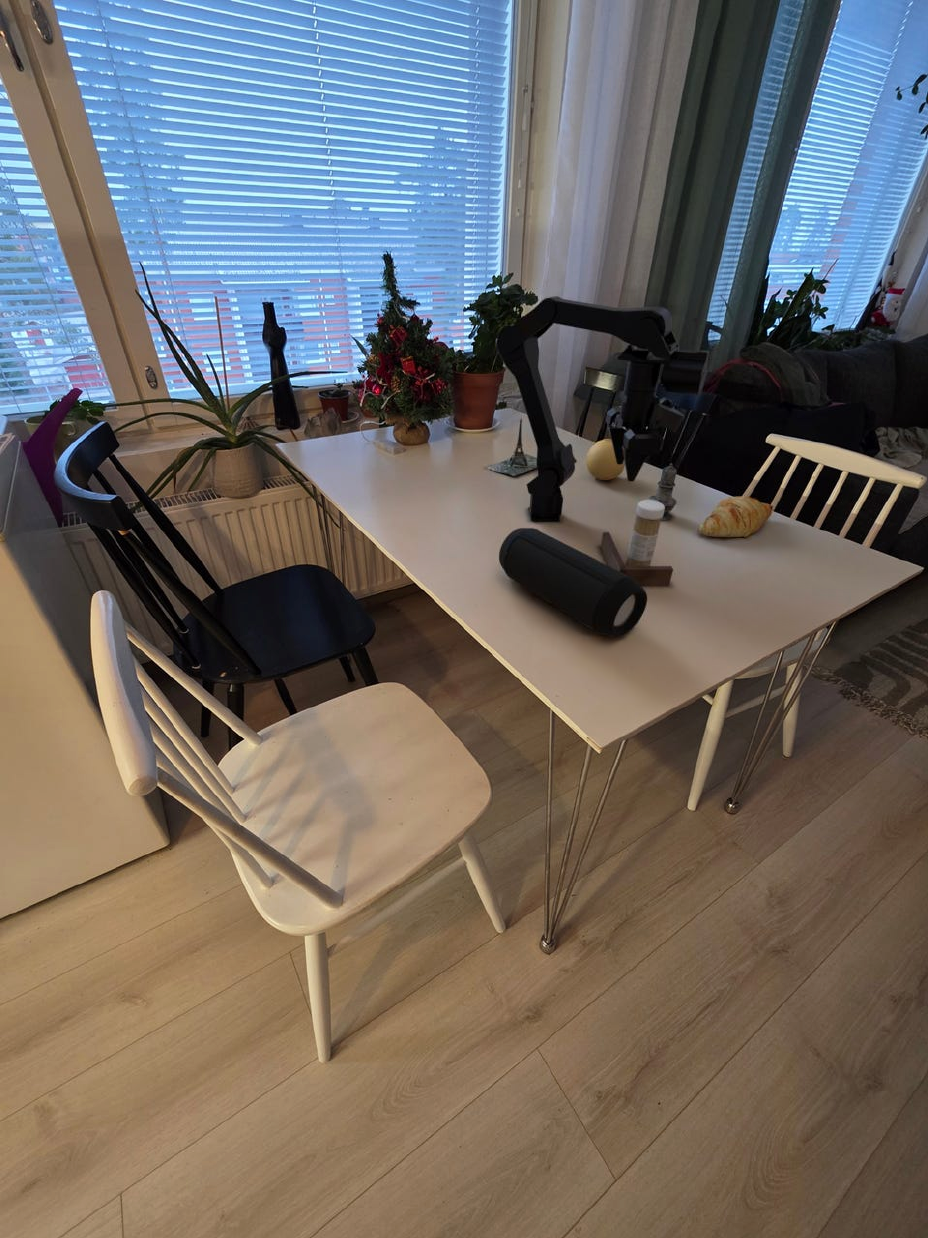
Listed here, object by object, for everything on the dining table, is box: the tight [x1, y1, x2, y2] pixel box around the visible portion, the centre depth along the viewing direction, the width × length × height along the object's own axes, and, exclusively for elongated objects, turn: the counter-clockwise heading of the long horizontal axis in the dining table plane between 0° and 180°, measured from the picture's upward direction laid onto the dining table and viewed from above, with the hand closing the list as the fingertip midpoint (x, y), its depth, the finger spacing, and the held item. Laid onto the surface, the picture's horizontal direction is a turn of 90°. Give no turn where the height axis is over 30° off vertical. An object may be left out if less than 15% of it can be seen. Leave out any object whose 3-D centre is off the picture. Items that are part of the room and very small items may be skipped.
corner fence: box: [599, 531, 674, 587], centre depth 99 cm, size 9×14×4 cm, turn 0°
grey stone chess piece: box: [648, 462, 678, 521], centre depth 115 cm, size 6×6×12 cm
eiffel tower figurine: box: [486, 418, 537, 477], centre depth 139 cm, size 15×10×13 cm
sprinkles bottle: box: [624, 499, 665, 566], centre depth 95 cm, size 5×5×14 cm
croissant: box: [698, 495, 774, 538], centre depth 111 cm, size 21×10×8 cm, turn 120°
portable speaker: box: [498, 527, 648, 638], centre depth 87 cm, size 26×10×10 cm, turn 38°
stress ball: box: [585, 438, 626, 481], centre depth 133 cm, size 10×10×10 cm
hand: (625, 472), depth 104 cm, fingers open, 9 cm apart
